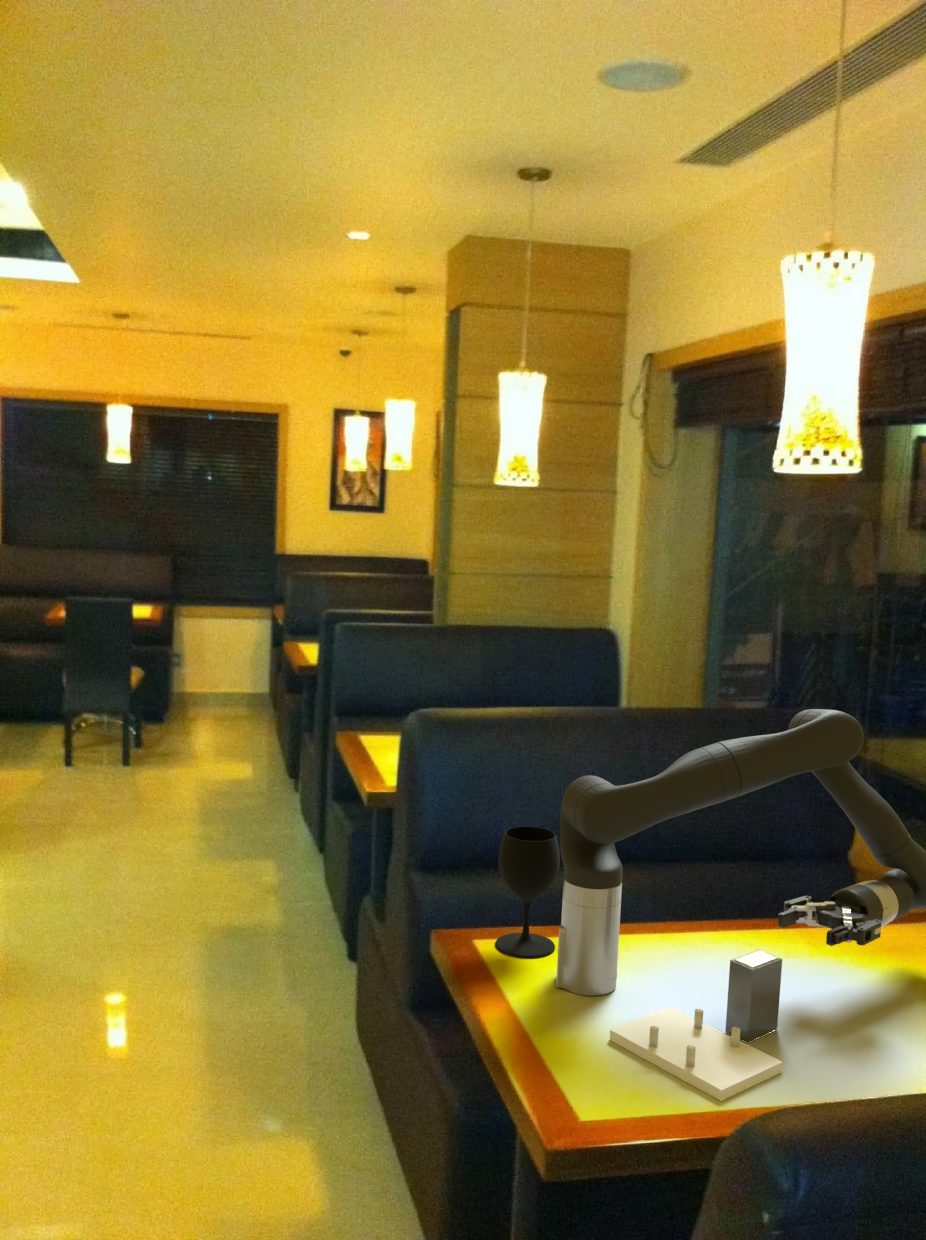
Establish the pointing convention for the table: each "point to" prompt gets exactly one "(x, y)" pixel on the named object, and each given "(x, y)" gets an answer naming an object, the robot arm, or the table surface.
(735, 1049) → the peg board
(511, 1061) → the table surface
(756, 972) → the grey rectangular block
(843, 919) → the robot arm
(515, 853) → the wine glass
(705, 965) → the table surface
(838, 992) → the table surface
